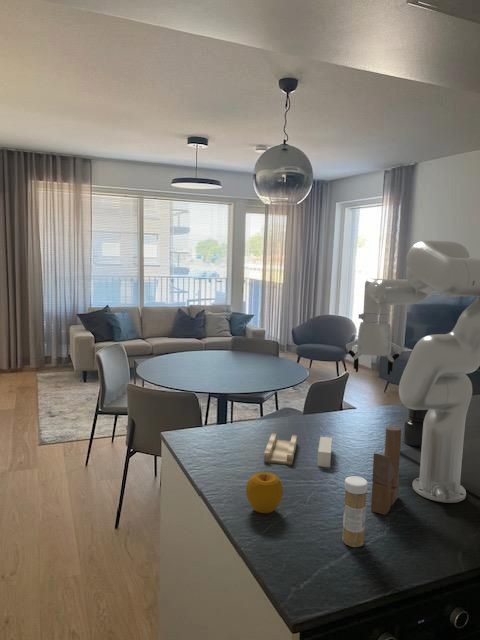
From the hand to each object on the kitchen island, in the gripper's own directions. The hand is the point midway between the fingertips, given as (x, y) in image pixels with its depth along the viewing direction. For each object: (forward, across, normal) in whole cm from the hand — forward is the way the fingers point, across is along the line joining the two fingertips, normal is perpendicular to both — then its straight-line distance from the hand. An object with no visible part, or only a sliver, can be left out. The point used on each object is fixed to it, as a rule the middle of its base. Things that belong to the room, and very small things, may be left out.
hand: (372, 372), depth 153 cm
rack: (+23, -26, -16) cm, 38 cm away
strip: (+23, -13, -17) cm, 31 cm away
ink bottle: (+23, +15, +4) cm, 28 cm away
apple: (+23, -24, -51) cm, 61 cm away
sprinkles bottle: (+23, -4, -58) cm, 63 cm away
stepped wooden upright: (+23, +3, -40) cm, 47 cm away
